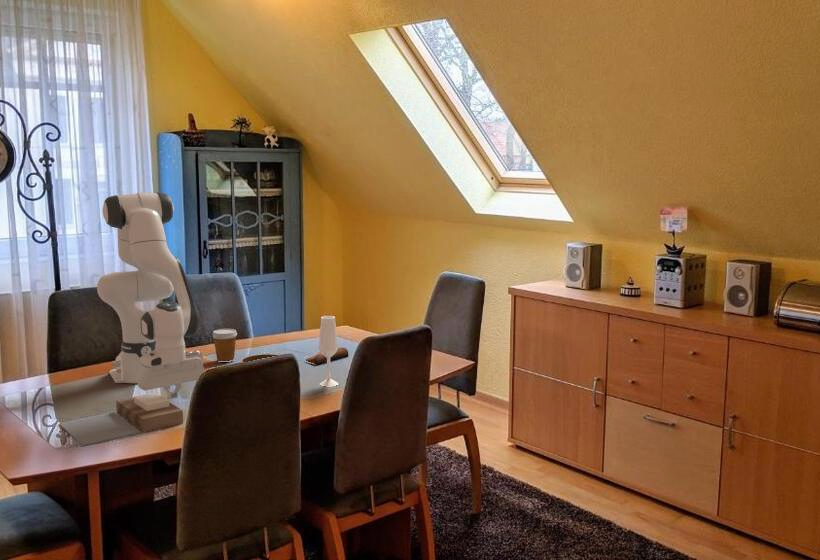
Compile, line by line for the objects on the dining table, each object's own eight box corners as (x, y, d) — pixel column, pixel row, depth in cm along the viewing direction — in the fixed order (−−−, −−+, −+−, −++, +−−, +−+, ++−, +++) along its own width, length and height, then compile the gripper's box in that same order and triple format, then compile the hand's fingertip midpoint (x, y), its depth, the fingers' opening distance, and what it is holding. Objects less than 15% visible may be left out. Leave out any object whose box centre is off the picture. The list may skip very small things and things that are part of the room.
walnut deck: (116, 412, 235) (116, 400, 235) (154, 404, 243) (153, 392, 242) (143, 432, 219) (142, 419, 218) (183, 423, 226) (182, 410, 226)
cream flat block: (134, 402, 232) (134, 396, 232) (156, 398, 237) (156, 392, 236) (146, 411, 225) (146, 404, 224) (169, 406, 229) (169, 399, 229)
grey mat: (58, 424, 224) (58, 423, 224) (113, 413, 235) (113, 411, 234) (82, 446, 208) (82, 444, 208) (140, 433, 218) (140, 431, 218)
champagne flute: (325, 388, 261) (324, 320, 257) (315, 383, 266) (314, 316, 263) (342, 384, 265) (341, 317, 261) (332, 380, 270) (331, 314, 266)
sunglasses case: (333, 352, 308) (339, 340, 305) (344, 363, 305) (350, 351, 302) (301, 362, 294) (307, 349, 291) (312, 373, 291) (318, 360, 288)
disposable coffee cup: (231, 365, 290) (230, 334, 288) (208, 363, 292) (207, 333, 290) (242, 358, 299) (241, 329, 297) (220, 357, 301) (219, 327, 299)
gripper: (198, 347, 242) (199, 389, 244) (134, 358, 229) (136, 402, 231) (206, 351, 237) (208, 394, 239) (142, 362, 224) (144, 407, 226)
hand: (172, 398), depth 235 cm, fingers closed
